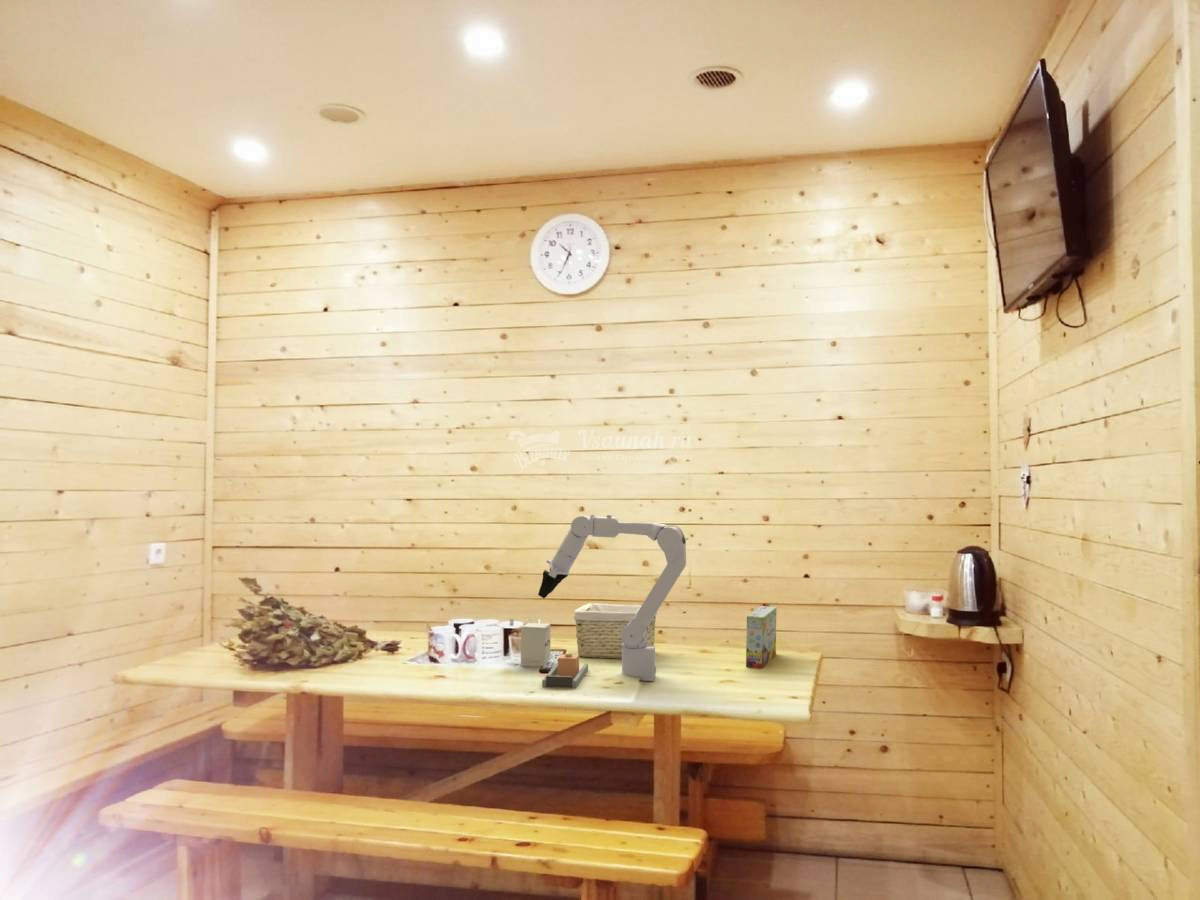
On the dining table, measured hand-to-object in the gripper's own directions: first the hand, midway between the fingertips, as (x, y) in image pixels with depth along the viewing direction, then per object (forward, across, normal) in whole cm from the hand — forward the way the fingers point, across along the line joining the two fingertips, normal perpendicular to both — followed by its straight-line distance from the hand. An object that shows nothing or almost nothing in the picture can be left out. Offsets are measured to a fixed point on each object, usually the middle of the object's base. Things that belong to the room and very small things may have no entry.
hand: (544, 594), depth 245 cm
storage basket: (+12, -27, +27) cm, 40 cm away
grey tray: (+15, +11, +18) cm, 26 cm away
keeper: (+14, +7, +18) cm, 23 cm away
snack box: (-11, -24, +65) cm, 70 cm away
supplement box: (+22, -5, +8) cm, 24 cm away
